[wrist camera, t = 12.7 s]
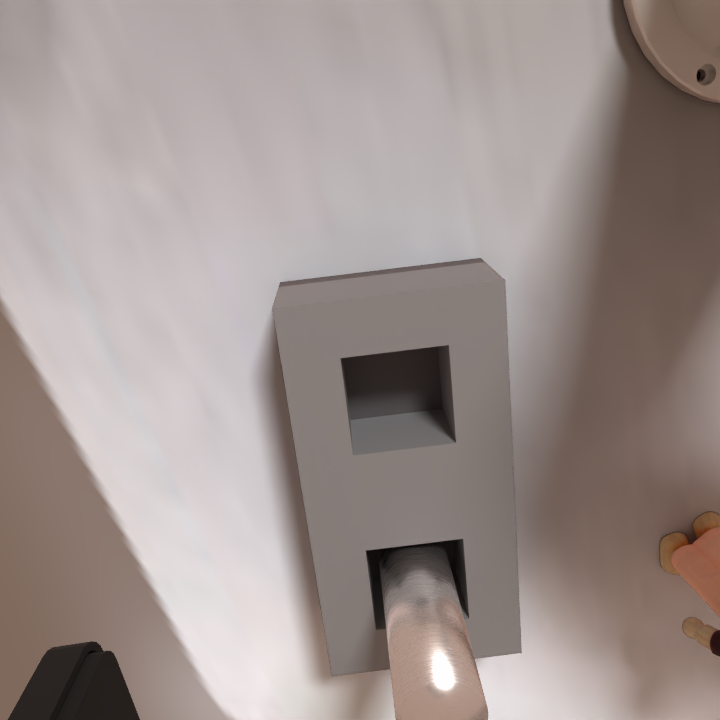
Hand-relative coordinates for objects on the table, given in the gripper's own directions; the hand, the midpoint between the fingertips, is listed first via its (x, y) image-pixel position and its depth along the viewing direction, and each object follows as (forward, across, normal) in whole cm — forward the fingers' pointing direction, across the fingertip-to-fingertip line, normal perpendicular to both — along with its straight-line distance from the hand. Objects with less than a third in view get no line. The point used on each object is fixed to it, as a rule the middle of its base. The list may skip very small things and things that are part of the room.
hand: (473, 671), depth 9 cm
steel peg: (+25, +1, +16) cm, 29 cm away
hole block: (+26, +1, +11) cm, 28 cm away
